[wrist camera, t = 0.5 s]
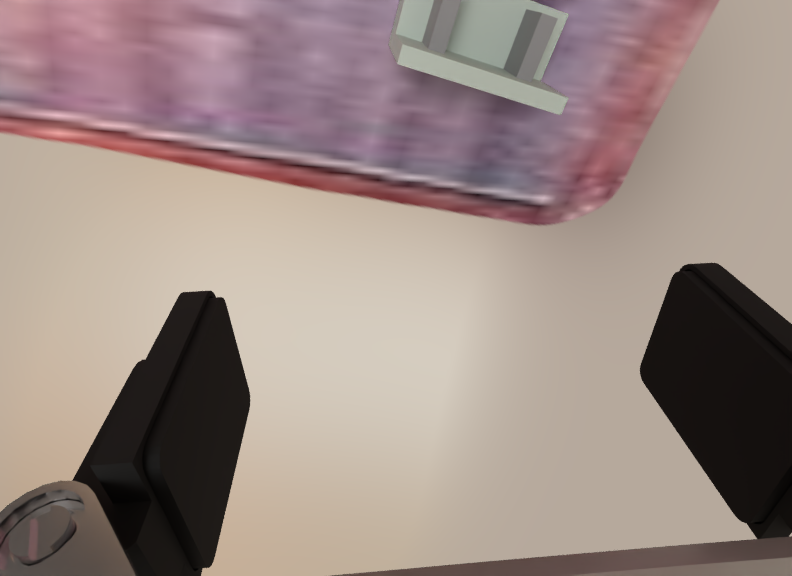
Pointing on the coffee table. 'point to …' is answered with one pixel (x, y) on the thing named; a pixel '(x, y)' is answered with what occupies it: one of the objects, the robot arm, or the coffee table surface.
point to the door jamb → (482, 45)
